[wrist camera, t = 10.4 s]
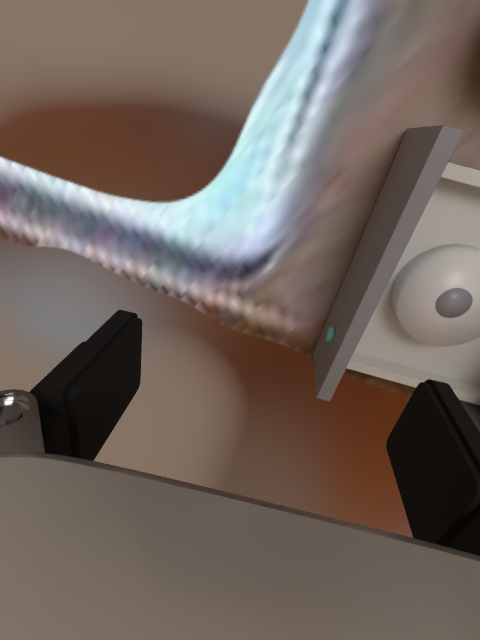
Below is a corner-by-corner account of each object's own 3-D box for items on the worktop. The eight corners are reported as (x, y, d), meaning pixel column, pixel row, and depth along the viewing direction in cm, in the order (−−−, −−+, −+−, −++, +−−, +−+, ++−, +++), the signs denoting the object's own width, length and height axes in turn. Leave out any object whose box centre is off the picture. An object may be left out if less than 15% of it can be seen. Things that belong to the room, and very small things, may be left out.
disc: (418, 232, 23) (429, 240, 21) (519, 258, 22) (539, 269, 21) (375, 319, 26) (381, 332, 24) (463, 342, 26) (475, 357, 24)
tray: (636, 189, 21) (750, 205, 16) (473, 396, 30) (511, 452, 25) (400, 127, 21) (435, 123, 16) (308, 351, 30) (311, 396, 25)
